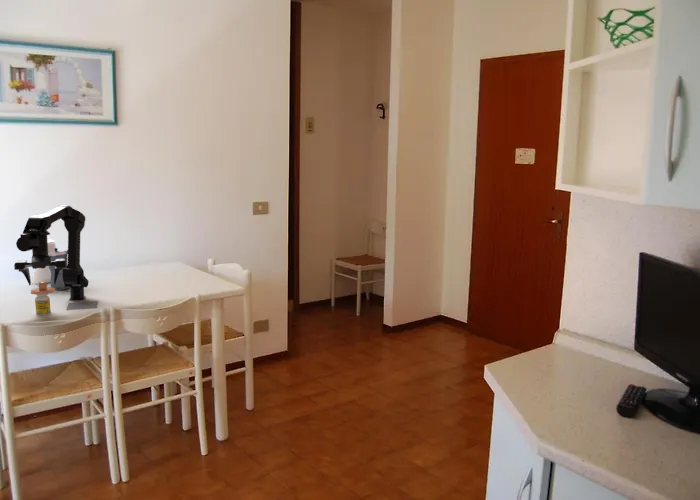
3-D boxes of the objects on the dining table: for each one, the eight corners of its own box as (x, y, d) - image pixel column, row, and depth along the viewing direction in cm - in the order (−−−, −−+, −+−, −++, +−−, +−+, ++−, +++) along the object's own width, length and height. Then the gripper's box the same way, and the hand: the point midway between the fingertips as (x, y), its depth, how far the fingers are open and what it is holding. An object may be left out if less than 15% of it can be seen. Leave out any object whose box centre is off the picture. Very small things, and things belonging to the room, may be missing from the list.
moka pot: (40, 290, 286) (37, 249, 282) (66, 283, 300) (64, 244, 297) (55, 292, 282) (52, 251, 279) (80, 285, 297) (78, 246, 293)
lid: (32, 289, 249) (31, 280, 248) (56, 288, 252) (55, 279, 251) (29, 295, 241) (28, 285, 240) (54, 293, 244) (53, 284, 243)
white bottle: (50, 278, 311) (47, 230, 306) (61, 281, 305) (58, 232, 300) (27, 282, 301) (24, 233, 297) (38, 285, 295) (34, 235, 291)
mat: (68, 304, 264) (68, 302, 264) (98, 302, 268) (98, 300, 268) (66, 311, 253) (66, 310, 253) (97, 309, 257) (97, 307, 257)
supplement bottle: (49, 311, 252) (48, 289, 250) (51, 315, 247) (50, 292, 246) (35, 313, 249) (33, 291, 247) (37, 316, 244) (35, 294, 243)
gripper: (10, 251, 233) (13, 290, 235) (63, 249, 239) (65, 287, 242) (15, 246, 243) (18, 284, 246) (65, 245, 249) (68, 281, 252)
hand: (42, 284), depth 246 cm, fingers open, 9 cm apart
